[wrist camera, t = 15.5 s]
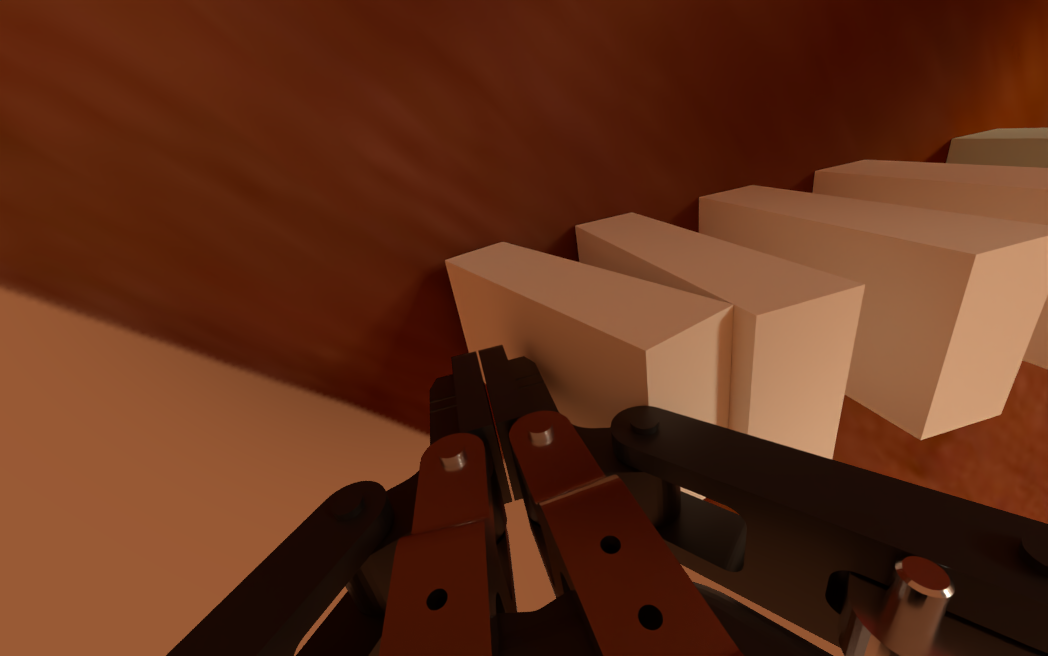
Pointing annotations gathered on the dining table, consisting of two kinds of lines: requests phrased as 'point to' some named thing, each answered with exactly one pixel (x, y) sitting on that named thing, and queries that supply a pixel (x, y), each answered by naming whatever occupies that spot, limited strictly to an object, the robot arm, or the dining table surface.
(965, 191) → the tile
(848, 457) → the dining table surface
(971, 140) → the sage tile
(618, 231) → the tile
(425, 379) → the dining table surface
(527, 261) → the tile
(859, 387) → the tile
